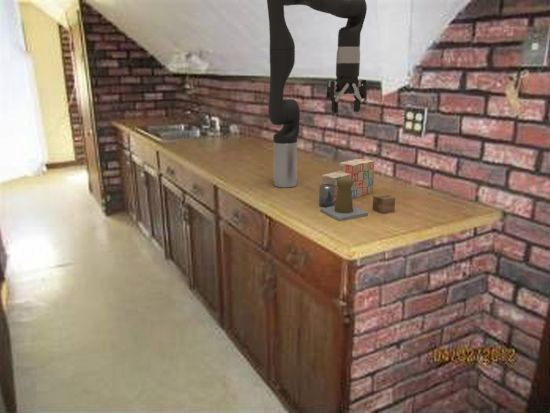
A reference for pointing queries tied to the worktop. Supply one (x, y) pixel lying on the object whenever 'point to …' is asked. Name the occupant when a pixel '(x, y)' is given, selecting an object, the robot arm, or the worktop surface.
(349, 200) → the brown rounded figure
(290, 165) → the robot arm
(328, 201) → the metal tin
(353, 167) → the stack of blocks
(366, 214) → the slate tile
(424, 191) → the worktop surface
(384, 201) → the walnut block
